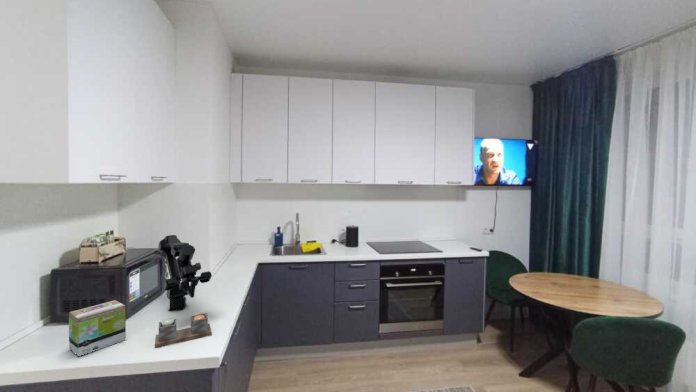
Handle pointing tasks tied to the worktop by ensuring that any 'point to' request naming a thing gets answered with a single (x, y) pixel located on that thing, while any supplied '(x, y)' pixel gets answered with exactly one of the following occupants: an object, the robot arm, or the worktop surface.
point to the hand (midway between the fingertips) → (192, 297)
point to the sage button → (167, 322)
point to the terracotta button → (199, 317)
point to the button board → (182, 332)
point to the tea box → (96, 327)
